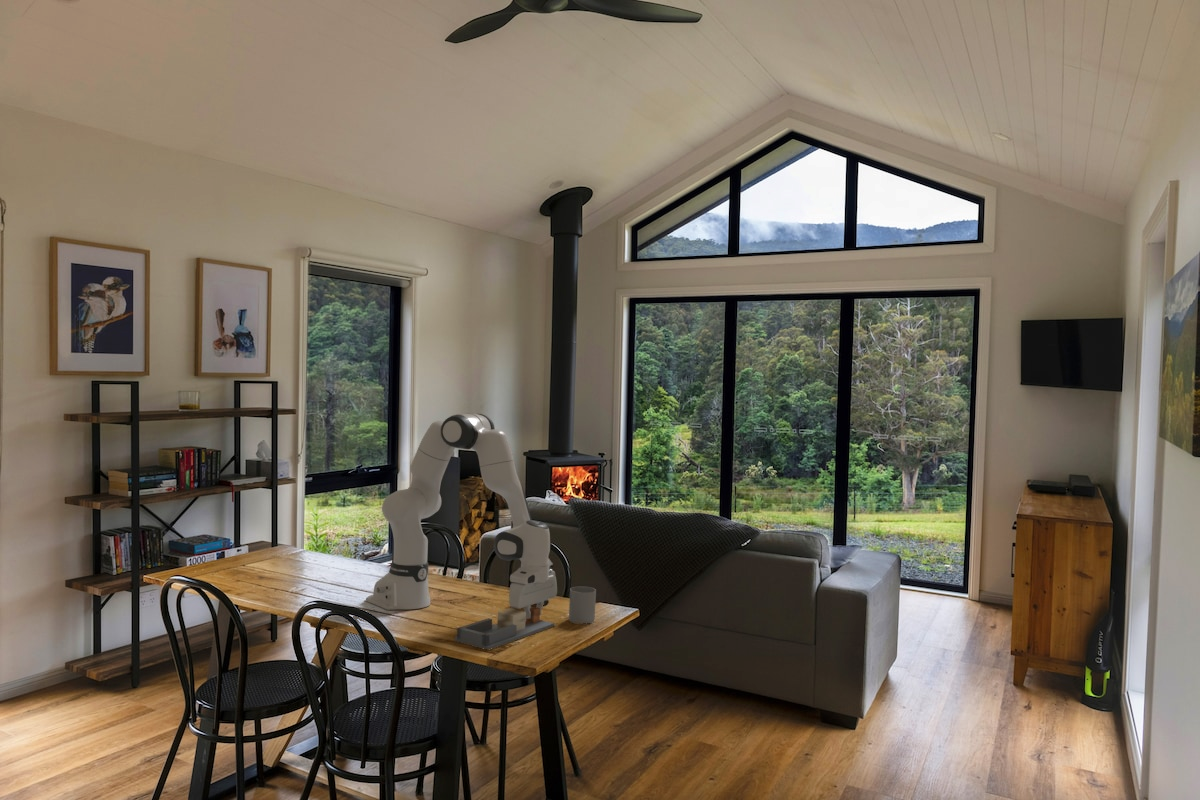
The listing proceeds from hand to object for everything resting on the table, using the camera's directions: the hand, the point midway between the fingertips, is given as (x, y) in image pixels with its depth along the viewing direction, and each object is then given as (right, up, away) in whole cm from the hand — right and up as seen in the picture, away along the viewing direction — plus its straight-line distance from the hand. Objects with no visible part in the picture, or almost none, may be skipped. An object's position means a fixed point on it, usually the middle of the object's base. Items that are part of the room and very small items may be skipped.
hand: (533, 616), depth 257 cm
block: (-3, -1, -5) cm, 6 cm away
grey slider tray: (-7, -2, -11) cm, 13 cm away
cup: (+15, -3, +7) cm, 17 cm away
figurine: (0, -2, +27) cm, 27 cm away
